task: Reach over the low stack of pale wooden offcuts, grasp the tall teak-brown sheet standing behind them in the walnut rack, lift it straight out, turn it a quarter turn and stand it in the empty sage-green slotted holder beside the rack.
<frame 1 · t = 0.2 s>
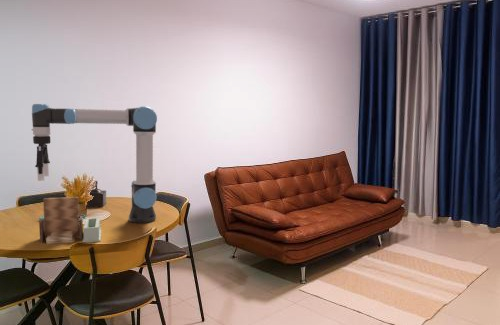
hand: (43, 178, 198), 28 cm above the table, fingers open, 13 cm apart
offcut stack: (61, 241, 189), on the table
teal napkin: (60, 219, 230), on the table
holder: (92, 236, 198), on the table
sheet: (62, 238, 193), on the table
black bag: (95, 206, 261), on the table
rack: (62, 238, 193), on the table
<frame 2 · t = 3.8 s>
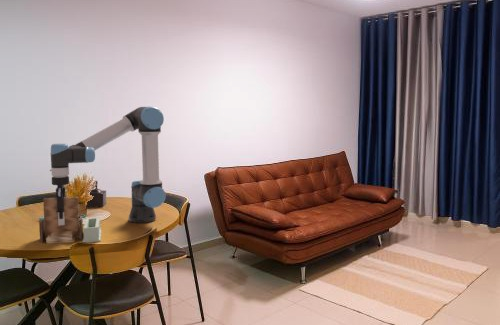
hand: (61, 224, 193), 7 cm above the table, fingers closed on sheet, 2 cm apart
sheet: (62, 238, 193), on the table, touching gripper
everything else where it was.
when the fingers open (9 cm above the table, at t = 9.5 s): sheet stays where it is, resting on holder.
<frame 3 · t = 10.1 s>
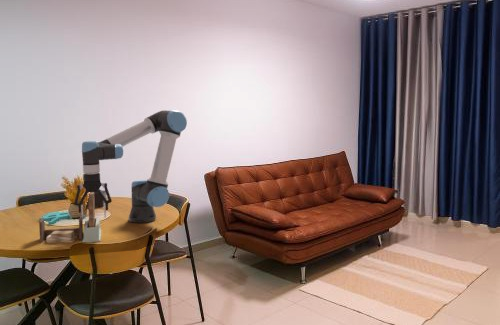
hand: (94, 217, 197), 9 cm above the table, fingers open, 10 cm apart
sheet: (92, 234, 198), point 1 cm above the table, touching holder
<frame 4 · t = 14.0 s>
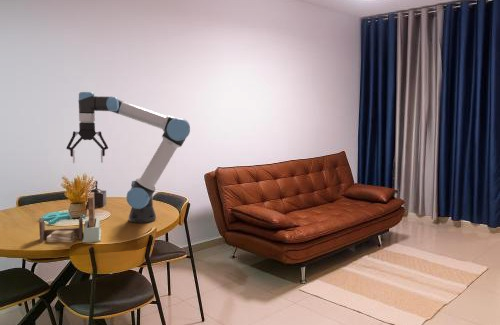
hand: (88, 162, 210), 35 cm above the table, fingers open, 13 cm apart
at the end: sheet 0.1 cm from the holder (horizontally); sheet tilted 0°; the gripper is holding nothing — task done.
